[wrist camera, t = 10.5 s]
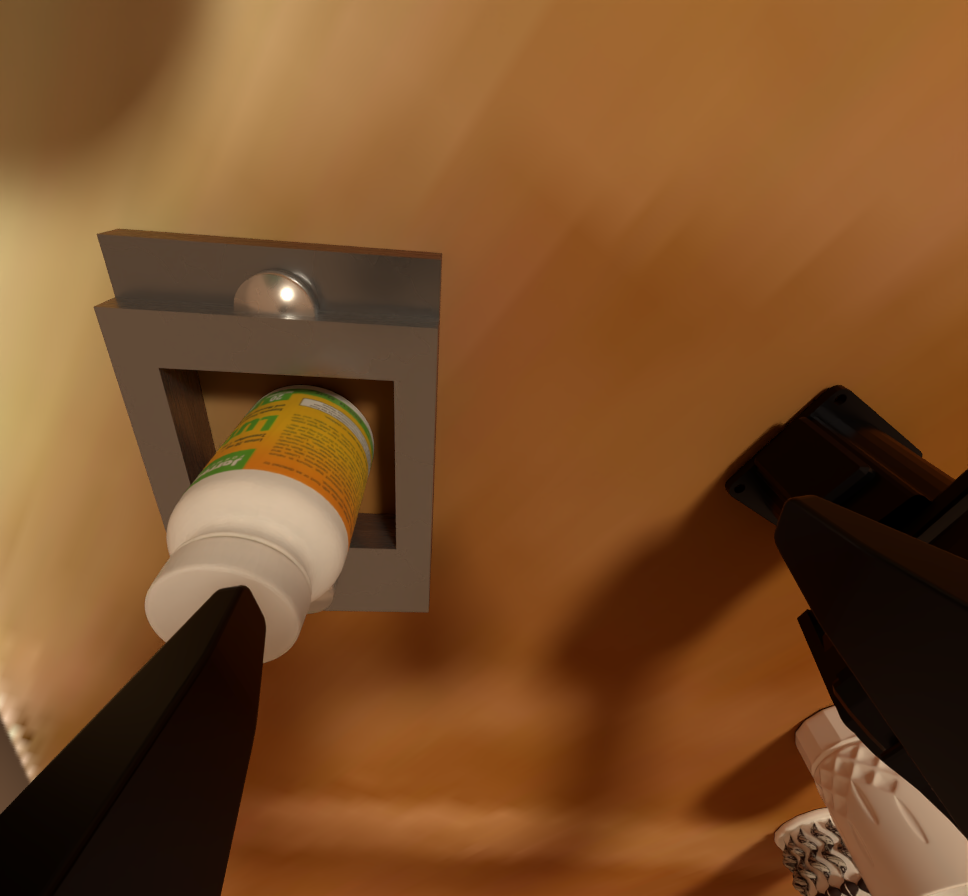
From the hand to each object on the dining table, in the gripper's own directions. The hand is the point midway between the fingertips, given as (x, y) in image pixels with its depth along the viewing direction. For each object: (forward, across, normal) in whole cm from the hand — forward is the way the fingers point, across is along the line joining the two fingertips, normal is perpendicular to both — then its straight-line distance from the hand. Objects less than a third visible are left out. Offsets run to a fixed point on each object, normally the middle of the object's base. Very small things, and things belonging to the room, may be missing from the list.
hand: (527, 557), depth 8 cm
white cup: (+10, -24, +32) cm, 41 cm away
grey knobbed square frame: (+13, +7, +5) cm, 16 cm away
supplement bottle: (+14, +7, +5) cm, 16 cm away
